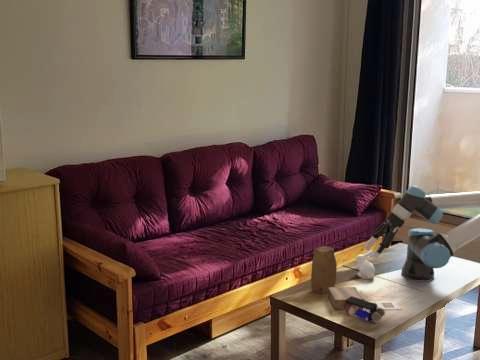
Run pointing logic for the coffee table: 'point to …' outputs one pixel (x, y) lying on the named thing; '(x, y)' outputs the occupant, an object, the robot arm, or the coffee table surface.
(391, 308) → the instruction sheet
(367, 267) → the rabbit
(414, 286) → the coffee table surface
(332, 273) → the block
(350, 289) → the tower base
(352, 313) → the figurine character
